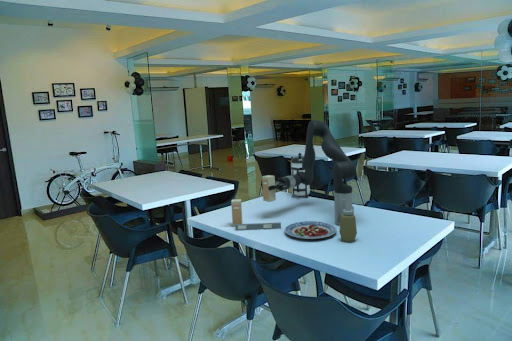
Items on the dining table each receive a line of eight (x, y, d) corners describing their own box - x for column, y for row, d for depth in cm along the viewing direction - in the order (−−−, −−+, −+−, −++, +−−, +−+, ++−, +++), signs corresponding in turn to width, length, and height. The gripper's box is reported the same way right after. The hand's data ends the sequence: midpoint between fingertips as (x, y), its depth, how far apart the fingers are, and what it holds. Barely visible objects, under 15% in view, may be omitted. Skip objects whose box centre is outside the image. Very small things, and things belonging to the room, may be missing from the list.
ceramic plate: (319, 222, 215) (319, 217, 215) (346, 236, 191) (346, 231, 191) (276, 229, 206) (276, 224, 206) (299, 246, 183) (299, 239, 182)
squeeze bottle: (344, 235, 192) (344, 199, 189) (359, 238, 187) (359, 202, 184) (336, 240, 186) (335, 203, 183) (352, 244, 181) (352, 206, 178)
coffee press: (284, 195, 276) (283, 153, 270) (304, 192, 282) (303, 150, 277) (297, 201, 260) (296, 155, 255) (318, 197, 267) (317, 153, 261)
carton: (269, 199, 228) (268, 175, 226) (275, 200, 224) (274, 175, 222) (263, 200, 224) (261, 176, 222) (269, 202, 221) (267, 177, 218)
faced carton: (233, 223, 219) (232, 199, 216) (242, 223, 219) (241, 199, 216) (232, 226, 214) (231, 201, 211) (241, 226, 214) (240, 201, 211)
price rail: (281, 227, 208) (280, 222, 208) (281, 228, 207) (280, 223, 206) (235, 229, 209) (235, 224, 209) (235, 230, 208) (235, 225, 207)
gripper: (277, 175, 237) (256, 180, 226) (295, 177, 227) (274, 182, 215) (277, 187, 238) (257, 192, 227) (295, 190, 228) (274, 196, 217)
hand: (265, 187), depth 221 cm, fingers closed on carton, 5 cm apart
